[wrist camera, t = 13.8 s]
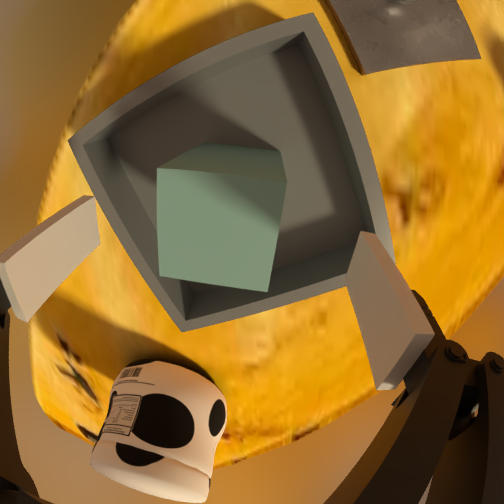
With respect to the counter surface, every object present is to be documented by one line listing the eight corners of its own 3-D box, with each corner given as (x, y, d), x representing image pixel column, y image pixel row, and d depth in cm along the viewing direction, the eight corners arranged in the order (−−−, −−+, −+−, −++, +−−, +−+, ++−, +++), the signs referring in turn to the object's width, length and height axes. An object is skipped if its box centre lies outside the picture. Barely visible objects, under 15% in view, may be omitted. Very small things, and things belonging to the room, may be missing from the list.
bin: (304, 31, 17) (313, 12, 12) (377, 240, 25) (396, 268, 20) (99, 132, 21) (67, 140, 17) (193, 300, 30) (181, 332, 25)
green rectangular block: (204, 142, 21) (157, 167, 12) (280, 151, 21) (287, 182, 12) (199, 211, 24) (159, 275, 15) (269, 220, 24) (267, 292, 15)
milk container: (208, 420, 44) (192, 506, 28) (119, 385, 41) (85, 469, 25) (249, 378, 36) (237, 499, 20) (131, 329, 33) (75, 446, 17)
